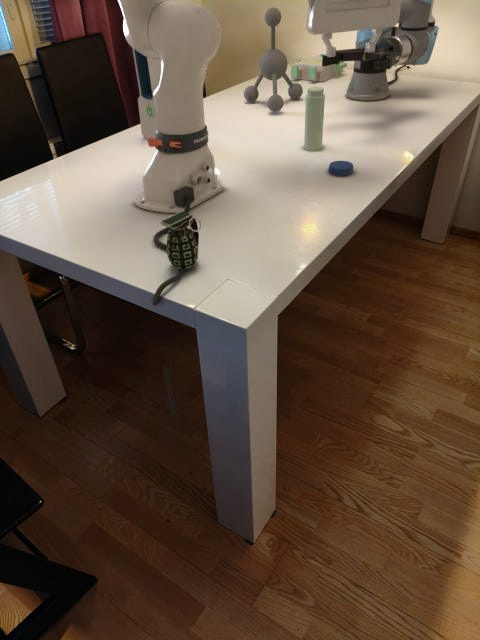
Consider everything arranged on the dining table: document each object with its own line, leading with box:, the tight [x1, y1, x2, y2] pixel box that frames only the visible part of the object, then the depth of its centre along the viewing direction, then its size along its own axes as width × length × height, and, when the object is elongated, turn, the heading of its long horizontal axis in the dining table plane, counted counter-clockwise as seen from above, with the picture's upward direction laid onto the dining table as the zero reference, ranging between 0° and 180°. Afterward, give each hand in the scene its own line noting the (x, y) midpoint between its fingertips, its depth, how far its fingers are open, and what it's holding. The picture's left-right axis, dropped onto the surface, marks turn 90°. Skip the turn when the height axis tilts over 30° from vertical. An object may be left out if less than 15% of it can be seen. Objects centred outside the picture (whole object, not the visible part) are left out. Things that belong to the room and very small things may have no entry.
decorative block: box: [290, 53, 348, 82], centre depth 209 cm, size 26×6×20 cm
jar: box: [303, 86, 326, 152], centre depth 135 cm, size 5×5×16 cm
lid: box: [328, 160, 354, 177], centre depth 124 cm, size 6×6×2 cm
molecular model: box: [243, 6, 304, 113], centre depth 169 cm, size 24×22×30 cm
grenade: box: [159, 211, 202, 271], centre depth 88 cm, size 7×6×10 cm
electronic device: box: [132, 48, 161, 140], centre depth 143 cm, size 12×8×30 cm, turn 47°
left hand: (350, 54), depth 108 cm, fingers open, 8 cm apart
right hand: (341, 64), depth 132 cm, fingers open, 13 cm apart
